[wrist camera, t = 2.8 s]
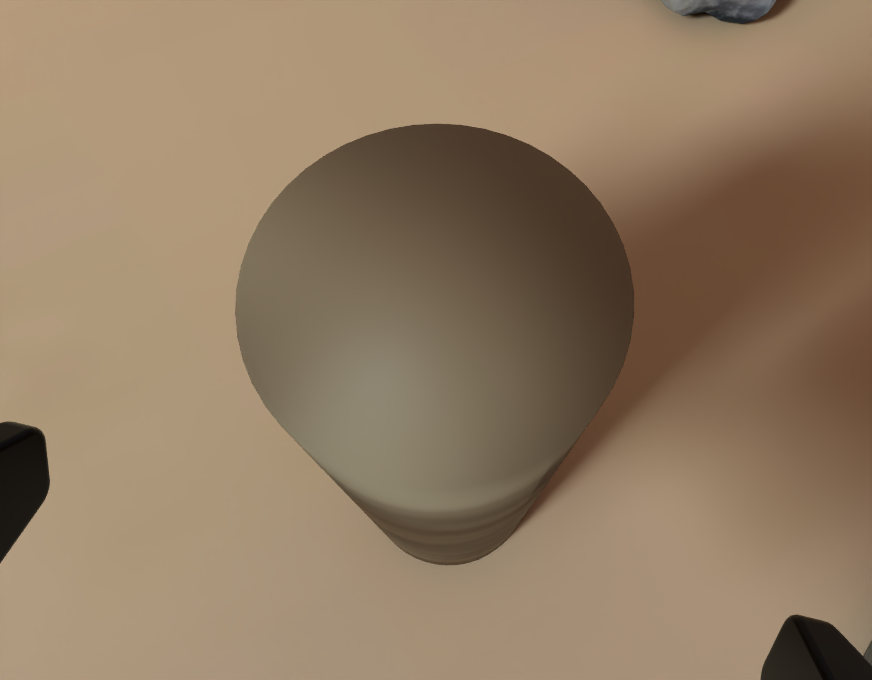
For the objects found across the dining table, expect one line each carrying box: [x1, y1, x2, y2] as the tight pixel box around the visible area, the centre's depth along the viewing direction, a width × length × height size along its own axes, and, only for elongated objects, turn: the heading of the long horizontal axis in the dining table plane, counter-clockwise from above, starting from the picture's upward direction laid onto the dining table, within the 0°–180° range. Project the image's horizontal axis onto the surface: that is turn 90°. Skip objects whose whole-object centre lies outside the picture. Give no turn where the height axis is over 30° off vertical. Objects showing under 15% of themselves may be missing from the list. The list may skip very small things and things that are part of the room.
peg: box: [235, 124, 634, 565], centre depth 13 cm, size 4×4×12 cm
